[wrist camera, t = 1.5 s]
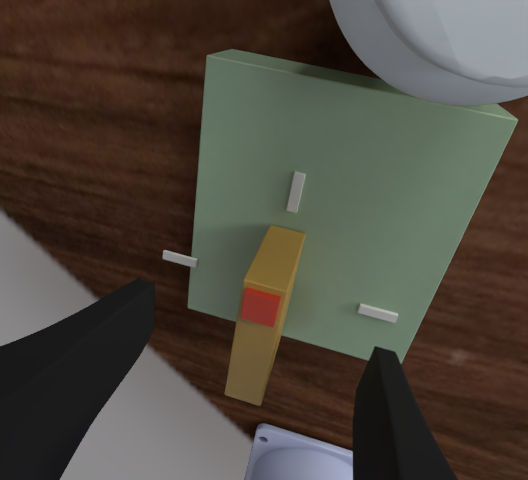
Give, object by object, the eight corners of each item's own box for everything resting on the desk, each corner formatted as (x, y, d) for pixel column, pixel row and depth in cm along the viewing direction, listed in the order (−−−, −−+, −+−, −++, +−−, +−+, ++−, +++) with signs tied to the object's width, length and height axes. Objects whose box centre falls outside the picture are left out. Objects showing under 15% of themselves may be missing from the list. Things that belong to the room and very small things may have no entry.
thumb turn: (280, 336, 17) (258, 412, 13) (250, 327, 17) (221, 401, 14) (306, 233, 14) (286, 297, 11) (270, 224, 14) (240, 284, 11)
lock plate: (381, 360, 19) (382, 406, 17) (183, 303, 20) (160, 339, 18) (495, 102, 13) (521, 120, 11) (201, 42, 14) (169, 47, 12)
